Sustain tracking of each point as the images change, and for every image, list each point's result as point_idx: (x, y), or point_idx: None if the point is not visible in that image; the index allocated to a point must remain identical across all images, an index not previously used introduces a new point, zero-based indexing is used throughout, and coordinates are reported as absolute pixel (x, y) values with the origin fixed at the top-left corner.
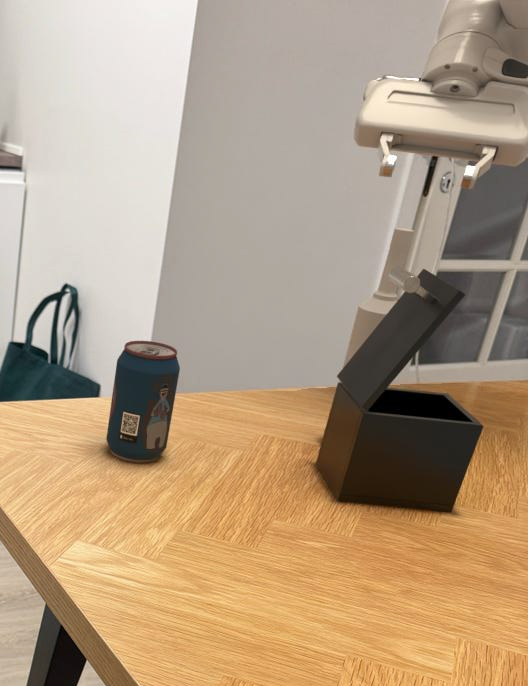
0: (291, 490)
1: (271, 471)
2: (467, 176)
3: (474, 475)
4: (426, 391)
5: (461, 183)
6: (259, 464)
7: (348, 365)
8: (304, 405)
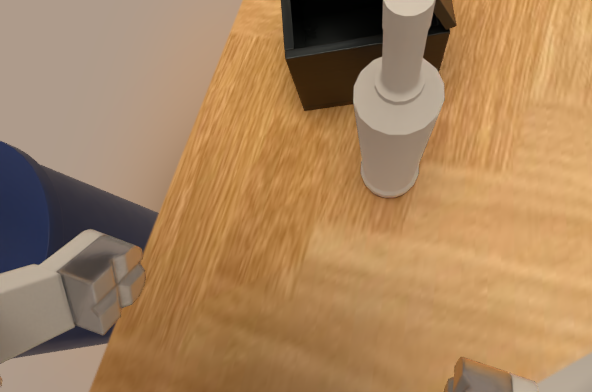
0: (468, 5)
1: (491, 48)
2: (117, 243)
3: (235, 136)
4: (316, 53)
5: (140, 272)
6: (506, 64)
7: (447, 4)
8: (429, 341)
